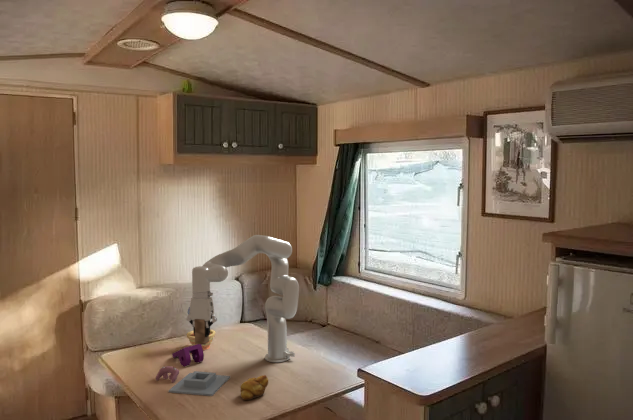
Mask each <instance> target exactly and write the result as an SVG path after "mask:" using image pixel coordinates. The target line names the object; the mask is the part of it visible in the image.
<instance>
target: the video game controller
mask: <svg viewBox="0 0 633 420" xmlns="http://www.w3.org/2000/svg"><path fill="white" fill-rule="evenodd" d="M179 374H180V370H179V369H178V368H176V367H175V366H172V365H171V366H169V365H166V366H162V367H161V368H160V369H159V371H158V372H157V374H156V376H155V381H157V382H158V381H159V380H160V379H161V378H162V379H164V380H167V379H168V380H171V383H172V384H174V383H175V382H176V380H177V379H178V376H180V375H179Z"/></svg>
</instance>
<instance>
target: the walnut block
mask: <svg viewBox="0 0 633 420" xmlns="http://www.w3.org/2000/svg"><path fill="white" fill-rule="evenodd" d="M205 328H206V324H205V321H204V320H201V319H195V344H203V345H205V344H206V343H207V342H209V336H207V337H205Z"/></svg>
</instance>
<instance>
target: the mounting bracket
mask: <svg viewBox="0 0 633 420" xmlns="http://www.w3.org/2000/svg"><path fill="white" fill-rule="evenodd" d="M171 356H172V359H176V358H178V361H179V364H180V366H182V367H188V366H190V365H191V362H192V361H193V362H194V363H196V364H199V363H202V362H203V361H204V357H205V354H204V350H203V349H202V345H201V344H197V345H193V346H192V345H189V346H185V347H182V348H180V349H178V350H177V351H174V352H173V353H172V354H171ZM191 357H192V358H191Z"/></svg>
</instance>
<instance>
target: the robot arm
mask: <svg viewBox="0 0 633 420" xmlns="http://www.w3.org/2000/svg"><path fill="white" fill-rule="evenodd" d="M292 253H293V247H292V245H291V244H290V242H289V241H285V240H282V239H278V238H276V237H272V236H269V235H261V234H254V235H252V236H250V237H249V238H247V239H246V240H244V241H243V242H241V243H239V244H238V245H237V246H235V247H234V248H232V249H230V250H227V251H224V252H221V253H219V254H217V255H215V256H213V257H211V258H210V259H209V260H207V261H206V262H205V263H203V264H202V266H201V265H200V266H195V267H193V268H192V270H191V283H192V286H191V287H192V289H191V290H192V294H191V295H192V297H191V298H190V301H189V307H190V312H189V315H188V314H187V317H186V318H185V320H186V321H188V322H189V324H190V325H191V327H192V328H193V330H192V331H193V332H194V336H195V319H201V320H204V321H205V324H206V328H205V337H207V336H209V334H210V330H211V327H212V325H213V324H215V323H216V322H217V321H218V319H217V317H216V315H215V309H214V307H215V305H214V301H213V297H211V296H213V295H214V294H213V292H211V284H210V283H221V282H223V281H225V280H226V279H228V276H229V270H228V269H227V268H230V267H236V266H241V265H244V264H246V263H247V262H248V261H250V260H251V259H253V258H254V257H255V256H257V255H258V254H264V255H266V256H267V257H268V259H269V261H270V263H271V273H270V282H269V283H270V284H269V287H270V290H271V292H272V293H275V294H278V295H272V296H269V297H267V299H266V301H265V304H264V308H265V313H266V321H267V322H266V323H267V324H266V325H267V354H266V355H265V356H264V360H265V361H267V362H269V363H284V362H287V361H289V360H290V359H291V358H293V357H295V356H296V353H295V352H294V351H293V350H292V351H290V350H289V348H287V346H288V345H287V343H288V341H287V340H288V338H287V334H288V333H287V331H288V329H287V319H288V320H290V319H293V318H294V317H295V315H296V314H297V311H298V307H299V296H300V295H299V294H300V285H299V282H298V280H297V279H296V278H295V277H293V276H290V275H289V269H290V268H289V267H290V266H289V260H288V258H290V257H291V255H292ZM279 295H280V296H279Z"/></svg>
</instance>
